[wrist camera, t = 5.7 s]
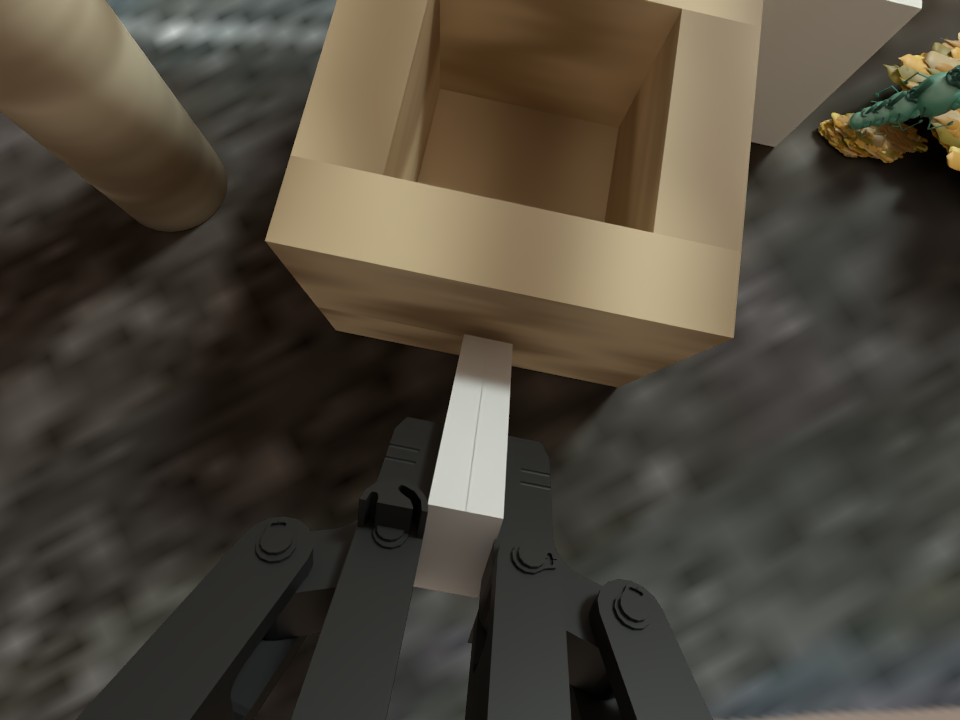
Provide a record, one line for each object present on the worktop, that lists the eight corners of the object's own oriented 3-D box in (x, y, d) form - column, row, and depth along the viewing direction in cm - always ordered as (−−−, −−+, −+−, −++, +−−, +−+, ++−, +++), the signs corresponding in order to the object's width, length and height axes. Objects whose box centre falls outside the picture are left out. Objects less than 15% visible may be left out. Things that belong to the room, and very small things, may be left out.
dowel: (105, 219, 20) (-673, -348, 6) (139, 129, 20) (-473, -553, 7) (210, 241, 20) (-311, -263, 6) (239, 150, 21) (-159, -474, 7)
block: (335, 330, 19) (264, 240, 12) (399, 83, 22) (376, -131, 14) (617, 387, 20) (733, 338, 12) (651, 139, 22) (766, -39, 14)
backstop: (415, 67, 22) (404, -113, 15) (428, 19, 22) (422, -177, 16) (775, 147, 22) (921, 8, 16) (778, 98, 23) (922, -57, 16)
